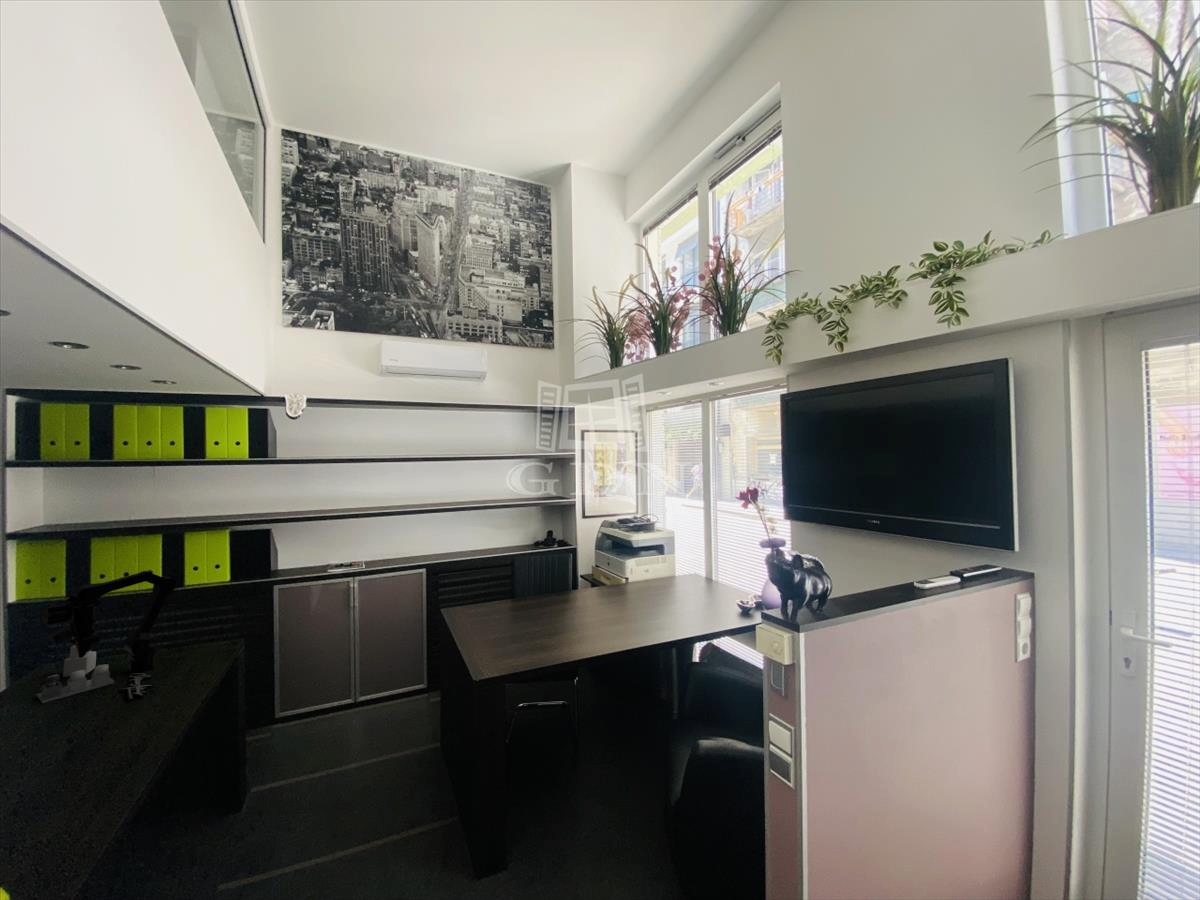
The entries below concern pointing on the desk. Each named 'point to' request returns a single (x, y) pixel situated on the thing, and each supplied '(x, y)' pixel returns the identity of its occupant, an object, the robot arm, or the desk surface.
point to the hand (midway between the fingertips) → (81, 657)
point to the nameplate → (136, 686)
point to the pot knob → (52, 680)
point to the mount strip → (74, 687)
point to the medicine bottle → (79, 661)
